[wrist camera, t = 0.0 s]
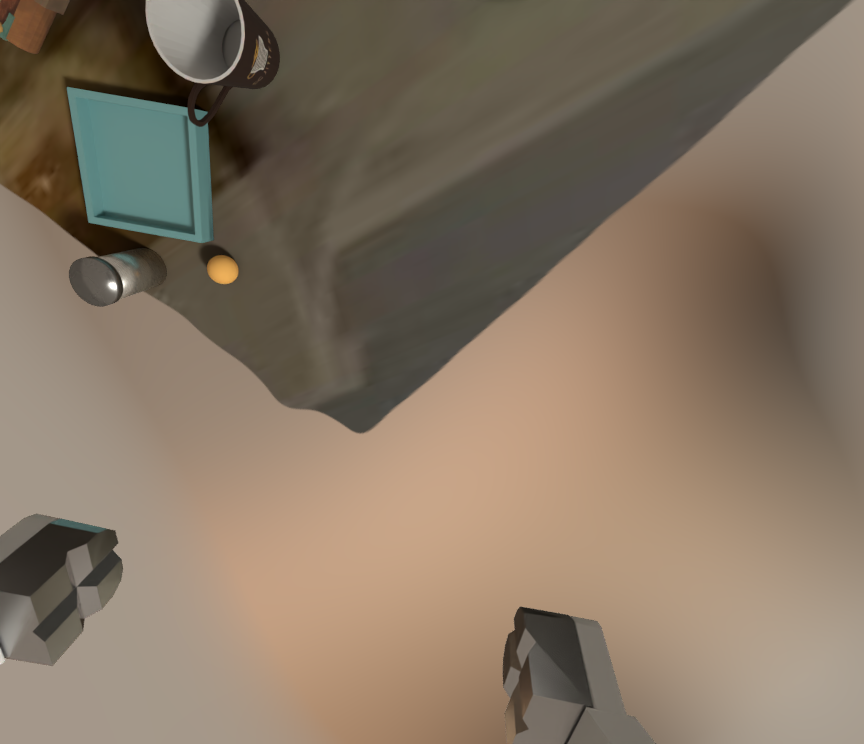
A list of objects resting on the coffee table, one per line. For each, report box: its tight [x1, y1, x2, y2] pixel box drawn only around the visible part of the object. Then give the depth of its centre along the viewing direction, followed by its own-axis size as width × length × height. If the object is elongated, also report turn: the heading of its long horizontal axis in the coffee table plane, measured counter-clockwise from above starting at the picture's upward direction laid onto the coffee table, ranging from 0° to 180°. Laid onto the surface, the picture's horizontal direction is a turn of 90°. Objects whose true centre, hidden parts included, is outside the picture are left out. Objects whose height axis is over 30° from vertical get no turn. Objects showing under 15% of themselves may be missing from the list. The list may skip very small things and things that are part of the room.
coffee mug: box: [145, 0, 280, 127], centre depth 42 cm, size 12×9×10 cm
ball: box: [207, 255, 238, 284], centre depth 54 cm, size 4×4×4 cm
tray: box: [67, 87, 214, 243], centre depth 51 cm, size 14×14×2 cm
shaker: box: [69, 248, 167, 306], centre depth 53 cm, size 5×5×9 cm
